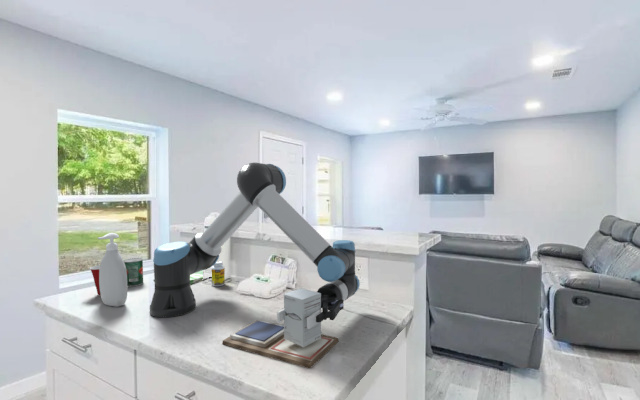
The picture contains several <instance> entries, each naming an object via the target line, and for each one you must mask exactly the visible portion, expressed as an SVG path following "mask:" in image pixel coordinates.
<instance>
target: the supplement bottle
mask: <svg viewBox="0 0 640 400" xmlns="http://www.w3.org/2000/svg"><path fill="white" fill-rule="evenodd" d="M218 261H219V262H216V263H215V264H214V265H213V266H211V272H212V278H211V286H212V287H222V286H224V285H225V284H226V282H225V279H226V278H225V277H226V276H225V274H226V273H225V271H226V270H225V266H224V265H223V261H220V260H218Z"/></svg>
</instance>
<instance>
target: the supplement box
mask: <svg viewBox="0 0 640 400" xmlns="http://www.w3.org/2000/svg"><path fill="white" fill-rule="evenodd" d="M283 308H284V320H283V326H284V339H285V340H288V341H290V342H293V343H295V344H297V345H300V346H301V347H305V346H307V345H309V344H311V343H313V342H315V341H317V340H319V339H320V338H321V334H322V321H321V322H318V323H317V324H316V325H314V326H313V327H312V328H310V329H307V317H309V316H310V315H312V314H313V313H315V312H316V311H318V310H322V308H321V293H318V292H317V291H314V290H310V289H306V288H302V287H301V288H296V289H295V290H292V291H288V292H286V293H284V294H283Z"/></svg>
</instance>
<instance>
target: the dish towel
mask: <svg viewBox="0 0 640 400" xmlns="http://www.w3.org/2000/svg"><path fill="white" fill-rule="evenodd" d="M203 271H204V270H202V271H199V272H196V273H194V274H191V275H190V285H192V284H193V285H194V284H196V283H200V282H202V281H203V280H202V279H203ZM153 282H154V283H155V281H154V279H153Z"/></svg>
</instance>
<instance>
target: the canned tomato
mask: <svg viewBox="0 0 640 400" xmlns="http://www.w3.org/2000/svg"><path fill="white" fill-rule="evenodd" d="M123 260H124V263H125V266H126V272H127V287H136V286H137V287H138V286H141V285H143V284H144V268H143V267H144V266H143V265H144V264H143V263H144V262H143V260H144V259H143V258H141V257H140V258H139V257H137V258H135V257H134V258H128V259H123Z"/></svg>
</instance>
